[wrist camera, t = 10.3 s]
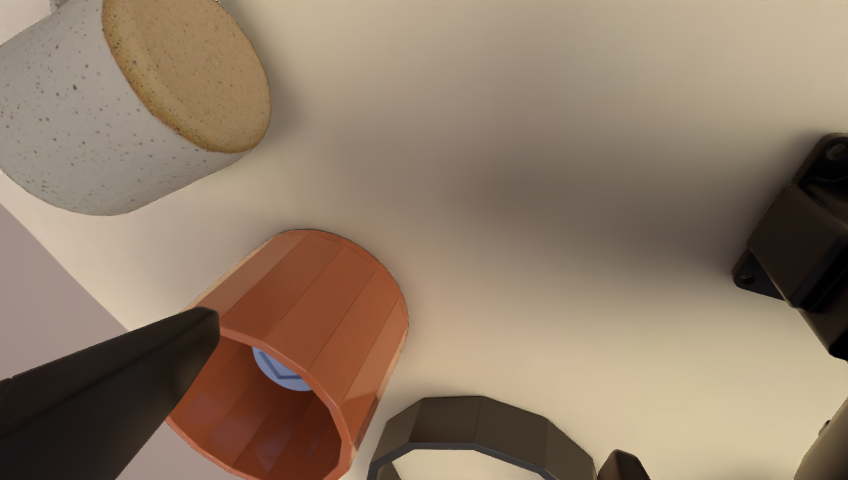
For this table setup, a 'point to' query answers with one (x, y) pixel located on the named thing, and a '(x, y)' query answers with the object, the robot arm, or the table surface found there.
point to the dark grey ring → (481, 437)
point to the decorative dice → (279, 372)
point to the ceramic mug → (127, 101)
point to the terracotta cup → (295, 359)
